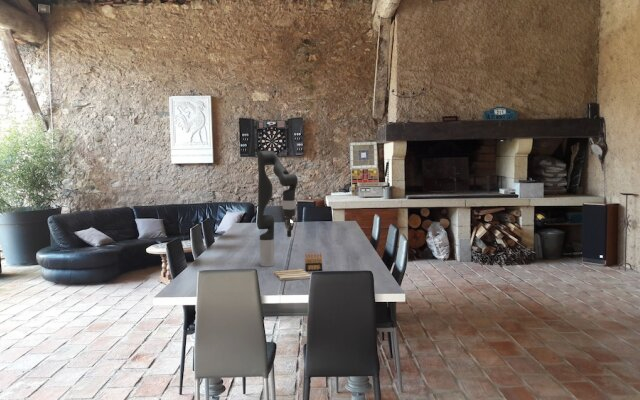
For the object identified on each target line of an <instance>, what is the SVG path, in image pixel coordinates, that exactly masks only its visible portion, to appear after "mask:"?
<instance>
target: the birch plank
mask: <svg viewBox="0 0 640 400" xmlns="http://www.w3.org/2000/svg"><path fill="white" fill-rule="evenodd" d="M310 275H311V274H310V273H308V272H304V273H293V274H282V275H277V276H278V277H277V276H276V277H277V278H278V279H279V280H280V281H281V282H284V281H294V280H295V281H296V280H304V279H305V280H306V279H311V278H310Z"/></svg>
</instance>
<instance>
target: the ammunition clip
mask: <svg viewBox="0 0 640 400" xmlns="http://www.w3.org/2000/svg"><path fill="white" fill-rule="evenodd" d="M322 256H323V255H322V252H321V251H320V252H318V251H317V252H316V251H314V253H313V252H311V253H310V252H308V253H307V251H306V252H305V258H304V264H305V265H304V271H306V272H307V273H308V271H309V272H323V257H322Z"/></svg>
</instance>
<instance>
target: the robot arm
mask: <svg viewBox="0 0 640 400" xmlns="http://www.w3.org/2000/svg"><path fill="white" fill-rule="evenodd" d="M266 166H273V168H272V170H273V174H274V175H275V176H276V177H277V179H278V181H279V184H280V185H281V186H282V187H288V189H285V190H284V191H282V216H283V217H285V219H284V220H283V221H284V228H285V229H286V236H287V237H288V238H291V237H292V231H293V228H294V225H295V222H294V219H293V217H295V216H296V195H295V193H296V191H297V185H298V180H299V178H298V176H297V175H296V174H295V173H291V174H290V173H289V171H288V169H287V168H286V167H285V166H284V165H283V164H282V162H281V160H280V158H279V157H278V155H277V154H276V153H275V151H273V150H261V151H258V154H257V173H258V183H257V184H258V185H257V198H258V199H257V213H256V226H257V229H259V230H266V232H264V233H262V234H260V235H259V258H260V260H259V261H260V267H273V266H275V218H274V215H273V214H264V212H265V209H266V207H267V205H268V204H269V203H270V201H271V199H272V197H273V183H272V181H271V180H270V178H269V177H268V175H267V172H266Z"/></svg>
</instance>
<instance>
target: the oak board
mask: <svg viewBox="0 0 640 400" xmlns="http://www.w3.org/2000/svg"><path fill="white" fill-rule="evenodd" d="M304 272H306V271H305V269H303V268H297V269H288V270H279V271H278V270H276V271H273V275H274V276H275V277H276V278H278V276H277V275H282V274H293V273H304Z"/></svg>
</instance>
